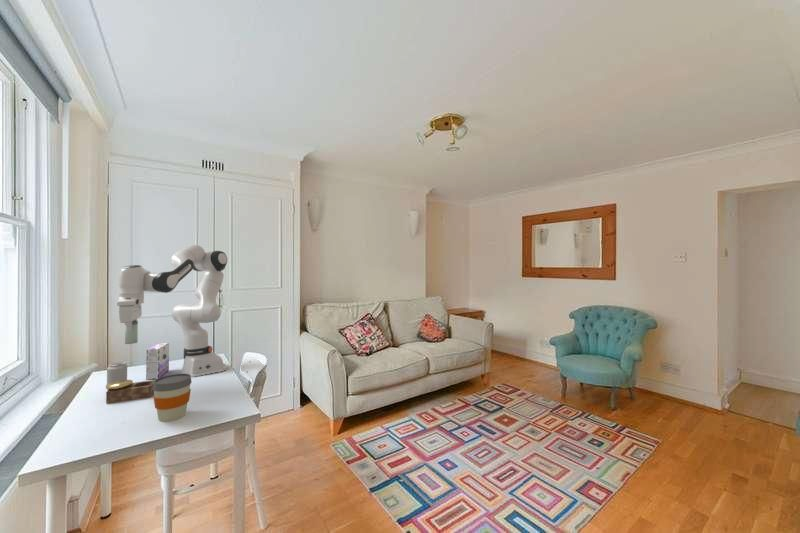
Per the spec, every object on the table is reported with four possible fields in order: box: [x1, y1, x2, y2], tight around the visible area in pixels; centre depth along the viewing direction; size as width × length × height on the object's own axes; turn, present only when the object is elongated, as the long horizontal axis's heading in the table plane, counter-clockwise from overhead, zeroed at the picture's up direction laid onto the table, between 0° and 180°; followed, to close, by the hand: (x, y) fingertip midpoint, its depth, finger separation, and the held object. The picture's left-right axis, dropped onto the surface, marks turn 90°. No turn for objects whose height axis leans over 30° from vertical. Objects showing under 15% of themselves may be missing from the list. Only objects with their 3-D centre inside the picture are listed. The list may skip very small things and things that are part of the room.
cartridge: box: [124, 320, 139, 345], centre depth 146 cm, size 5×5×10 cm
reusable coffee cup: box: [152, 373, 192, 423], centre depth 125 cm, size 13×13×15 cm
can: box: [106, 361, 128, 385], centre depth 155 cm, size 8×8×12 cm
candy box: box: [145, 342, 170, 381], centre depth 173 cm, size 14×6×16 cm, turn 17°
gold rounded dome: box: [105, 379, 134, 390], centre depth 142 cm, size 9×9×6 cm
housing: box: [105, 379, 155, 405], centre depth 144 cm, size 16×9×5 cm, turn 118°
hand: (131, 329), depth 146 cm, fingers closed on cartridge, 4 cm apart
